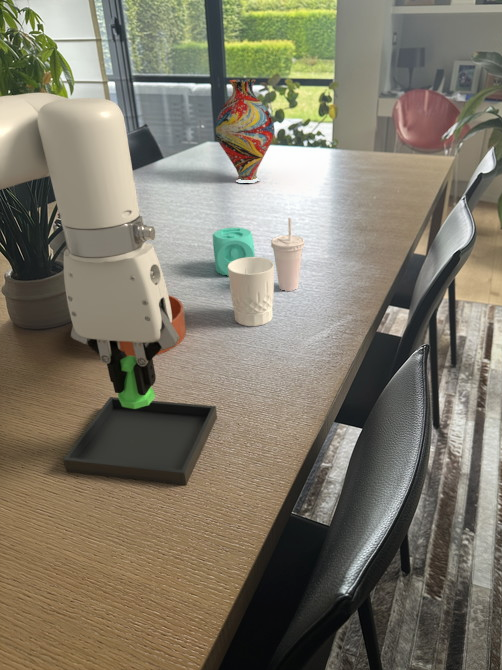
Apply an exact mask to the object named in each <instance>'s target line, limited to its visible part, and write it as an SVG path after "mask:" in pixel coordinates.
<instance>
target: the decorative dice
mask: <svg viewBox="0 0 502 670" xmlns="http://www.w3.org/2000/svg"><path fill="white" fill-rule="evenodd" d="M212 245H213V256H214V264H215V270H216V273H218V274H219V273H220V274H219V275H221V274H222V275H221V276H224V275H227V276H226V277H229V274H228V264H229V263H230V262H232V261H234V260H237V259H240V258H246V257H256V253H255V242H254V237H253V233H252V231H250V229H248V228H244V227H225V228H220V229H218V230H216V231H215V232H214V233H213V234H212Z"/></svg>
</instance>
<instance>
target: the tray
mask: <svg viewBox="0 0 502 670" xmlns="http://www.w3.org/2000/svg"><path fill="white" fill-rule="evenodd" d="M217 418H218V415H217V406H216V405H208V404H207V405H205V404H195V403H186V402H185V403H184V402H182V403H181V402H172V401H162V400H153V401H152V402H151V403H150V404H149V405H147V406H144V407H140V408H137V409H132V408H127V407H122V405H121V403H120V401H119V397H117V396H114V397H113V396H110V397H109V398H108V399H107V400H106V402H105V403H104V404H103V406H102V407H101V408H100V410H99V411H98V412H97V414H96V415H95V417H94V418H93V419H92V421H91V422H90V423H89V424H88V425H87V426H86V428H85V429H84V431H83V432H82V434H81V435H79V437H78V439H77V440H76V441H75V443H74V444H73V446H72V447H71V448H70V449H69V450H68V452H67V453H66V455H65V456H64V457H63V459H62V463H63V466H64V469H65V472H67V473H74V474H75V473H76V474H84V475H93V476H102V477H112V478H119V479H128V480H137V481H145V482H154V483H164V484H172V485H182V486H187V485H188V483H189V480H190V478H191V476H192V473H193V471H194V469H195V467H196V465H197V462H198V460H199V458H200V457H201V454H202V451H203V449H204V447H205V445H206V443H207V441H208V439H209V436H210V434H211V432H212V430H213V428H214V425H215V423H216V421H217Z"/></svg>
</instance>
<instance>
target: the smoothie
mask: <svg viewBox="0 0 502 670" xmlns="http://www.w3.org/2000/svg"><path fill="white" fill-rule="evenodd" d="M292 226H293V225H292V217H288V235H279V236H276V237H273V238H272V239H271V241H270V243H271V244H270V247H271V248H272V250H273V251H272V252H273V258H274V265H275V269H276V277H277V283H278V289H279V288H280V289H281V290H280V289H279V290H280V291H282V290H285V291H284V292H287V291H290V292H293V291H292V290H295V289H297V288H299V280H300V273H301V264H302V256H303V248H304V247H305V239H304V238H303V237H300V236H299V235H293V234H292V231H293V229H292ZM297 290H298V289H297ZM295 291H296V290H295Z"/></svg>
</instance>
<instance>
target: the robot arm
mask: <svg viewBox="0 0 502 670" xmlns="http://www.w3.org/2000/svg"><path fill="white" fill-rule="evenodd" d="M124 117H125V116H124V114H123V112H122V110H121V108H120V107H119V105H118V103H115V101H112V100H109V99H107V98H99V97H98V98H97V97H78V98H68V97H66V96H62V95H58V94H53V93H49V92H27V93H22V94H15V95H14V94H13V95H9V94H8V95H2V96H0V191H1V190H4V189H7V188H10V187H11V188H12V187H15V186H18V185H20V184H24V183H27V182H31V181H35V180H39V179H40V180H41V179H43V178H48V177H49V178H50V181H51V185H52V186H51V187H52V189H53V195H54V198H55V202H56V206H57V211H58V214H59V219H60V222H61V228H62V231H63V236H64V240H65V245H66V249H65V250H64V251H63V279H64V288H65V295H66V302H67V307H68V312H69V316H70V320H71V323H72V328H71V332H70V338H72V339H73V340H74V341H77V342H79V343H81V344H84V345H87V346H88V347H89V348H90V349H91V350H92V351H93V352H95V353H96V354H97V355H99V359H100V361H101V363H103V364H106V367H107V370H108V376H109V379H110V382H111V383H112V386H113V390H114V393H115V394H119V393H121V392H123V390H124V382H125V378H126V375H127V371H122V370H121V363H120V360H121V359H123V358H125V357H127V355H126V354H125V351H121V350H120V342H119V341H124V342H132V343H133V348H134V352H135V357H136V361H137V363H136V364H135V366H134V368H133V369H134V375H135V380H136V385H137V390H138V394H140V395H146V393H147V392H148V390H149V389H150V387H152V386H154V385H155V383H156V378H157V377H156V376H157V375H156V371H155V365H154V359H153V358H155V356H157V355H156V354H157V353H158V352H159V351H161V350H165V349H168V348H171V347H174V346H175V345H176V344H177V342H178V341H179V339H180V338H179V335H178V334H177V332H176V330H175V329H174V327H173V325H172V324H171V322H172V312H171V306H170V301H169V296H168V295H169V291H168V288H167V283H166V281H165V275H164V273H163V269H162V267H161V264H160V261H159V258H158V254H157V252H156V250H155V248H154V246H153V244H152V243H149V242H148V241H154V240H155V238H156V229H155V227H154V226H153V225H147V224H144V221H143V215H140V208H139V202H138V196H137V189H136V183H135V176H134V170H133V165H132V157H131V152H130V146H129V139H128V133H127V127H126V121H125V118H124ZM160 335H161V337H160ZM175 347H176V346H175ZM175 347H174V348H175Z"/></svg>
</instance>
